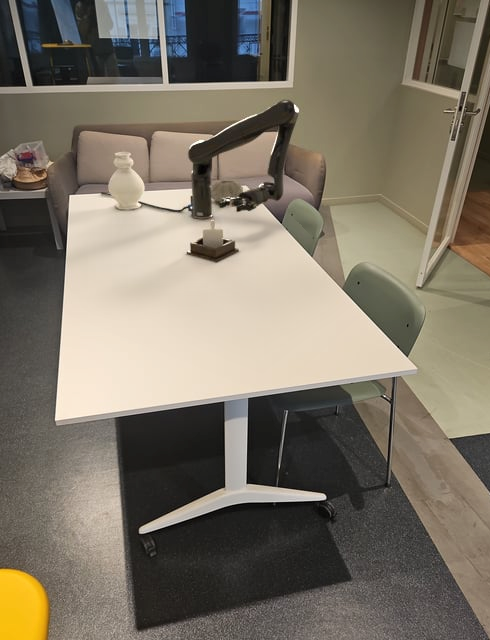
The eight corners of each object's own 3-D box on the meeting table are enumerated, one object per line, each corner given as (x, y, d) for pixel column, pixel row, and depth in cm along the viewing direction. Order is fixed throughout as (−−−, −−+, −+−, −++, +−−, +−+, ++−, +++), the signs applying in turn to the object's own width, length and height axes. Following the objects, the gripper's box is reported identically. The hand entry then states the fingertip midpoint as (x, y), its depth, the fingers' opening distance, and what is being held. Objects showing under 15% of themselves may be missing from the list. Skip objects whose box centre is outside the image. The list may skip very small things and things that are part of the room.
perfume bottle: (203, 251, 203) (202, 221, 196) (203, 249, 204) (202, 219, 198) (223, 251, 203) (222, 221, 196) (223, 249, 205) (222, 219, 198)
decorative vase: (129, 199, 267) (123, 148, 253) (153, 205, 259) (148, 152, 245) (103, 207, 256) (95, 154, 241) (128, 213, 247) (121, 158, 233)
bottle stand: (186, 254, 203) (186, 243, 200) (209, 243, 213) (209, 233, 210) (216, 262, 196) (216, 251, 193) (238, 251, 206) (238, 240, 203)
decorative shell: (216, 207, 257) (215, 187, 251) (205, 198, 271) (204, 179, 265) (248, 204, 263) (248, 184, 257) (236, 195, 276) (236, 176, 270)
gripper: (237, 187, 215) (214, 194, 204) (265, 192, 208) (243, 201, 197) (237, 205, 219) (214, 213, 208) (264, 211, 213) (242, 220, 202)
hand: (228, 207), depth 203 cm, fingers open, 8 cm apart
